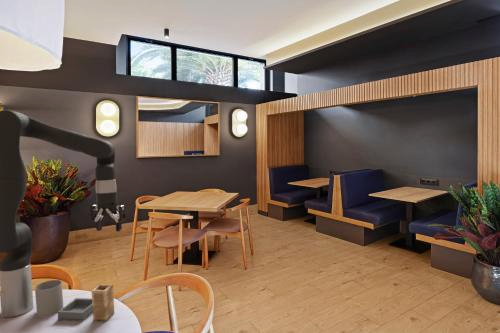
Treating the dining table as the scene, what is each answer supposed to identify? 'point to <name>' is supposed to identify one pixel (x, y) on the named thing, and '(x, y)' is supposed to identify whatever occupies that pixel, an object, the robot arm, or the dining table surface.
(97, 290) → the oak crate
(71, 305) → the tray
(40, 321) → the dining table surface
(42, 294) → the cup
